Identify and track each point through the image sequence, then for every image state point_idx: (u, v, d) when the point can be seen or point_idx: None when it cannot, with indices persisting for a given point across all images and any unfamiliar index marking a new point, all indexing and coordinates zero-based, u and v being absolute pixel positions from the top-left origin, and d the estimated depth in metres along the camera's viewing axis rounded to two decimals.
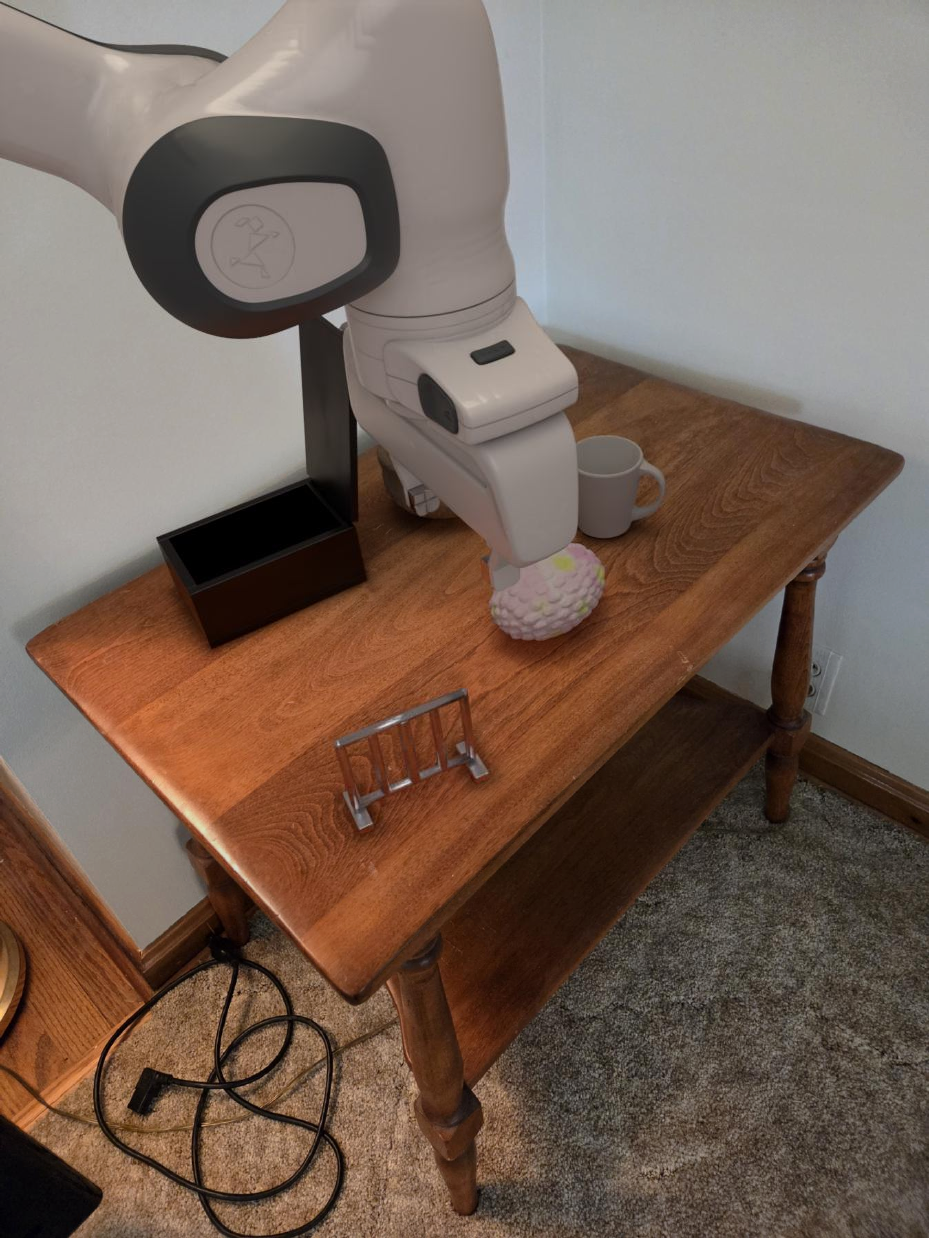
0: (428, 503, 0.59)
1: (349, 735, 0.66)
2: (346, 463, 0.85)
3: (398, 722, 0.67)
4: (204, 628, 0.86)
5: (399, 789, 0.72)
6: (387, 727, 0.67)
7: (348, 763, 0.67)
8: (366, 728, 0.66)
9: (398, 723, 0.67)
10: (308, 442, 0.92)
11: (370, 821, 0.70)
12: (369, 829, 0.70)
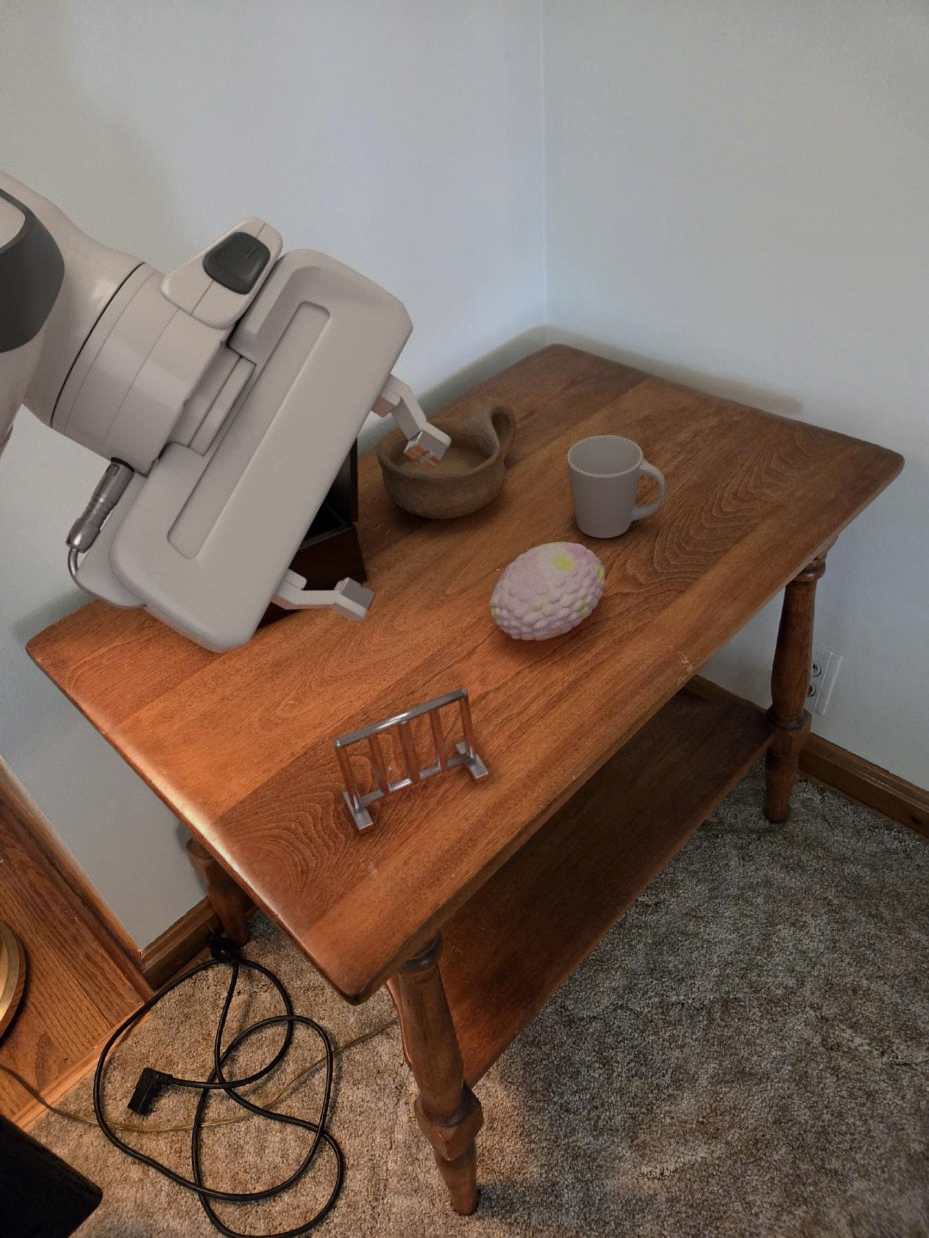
0: None
1: (349, 735, 0.66)
2: (346, 463, 0.85)
3: (398, 722, 0.67)
4: None
5: (399, 789, 0.72)
6: (387, 727, 0.67)
7: (348, 763, 0.67)
8: (366, 728, 0.66)
9: (398, 723, 0.67)
10: None
11: (370, 821, 0.70)
12: (369, 829, 0.70)
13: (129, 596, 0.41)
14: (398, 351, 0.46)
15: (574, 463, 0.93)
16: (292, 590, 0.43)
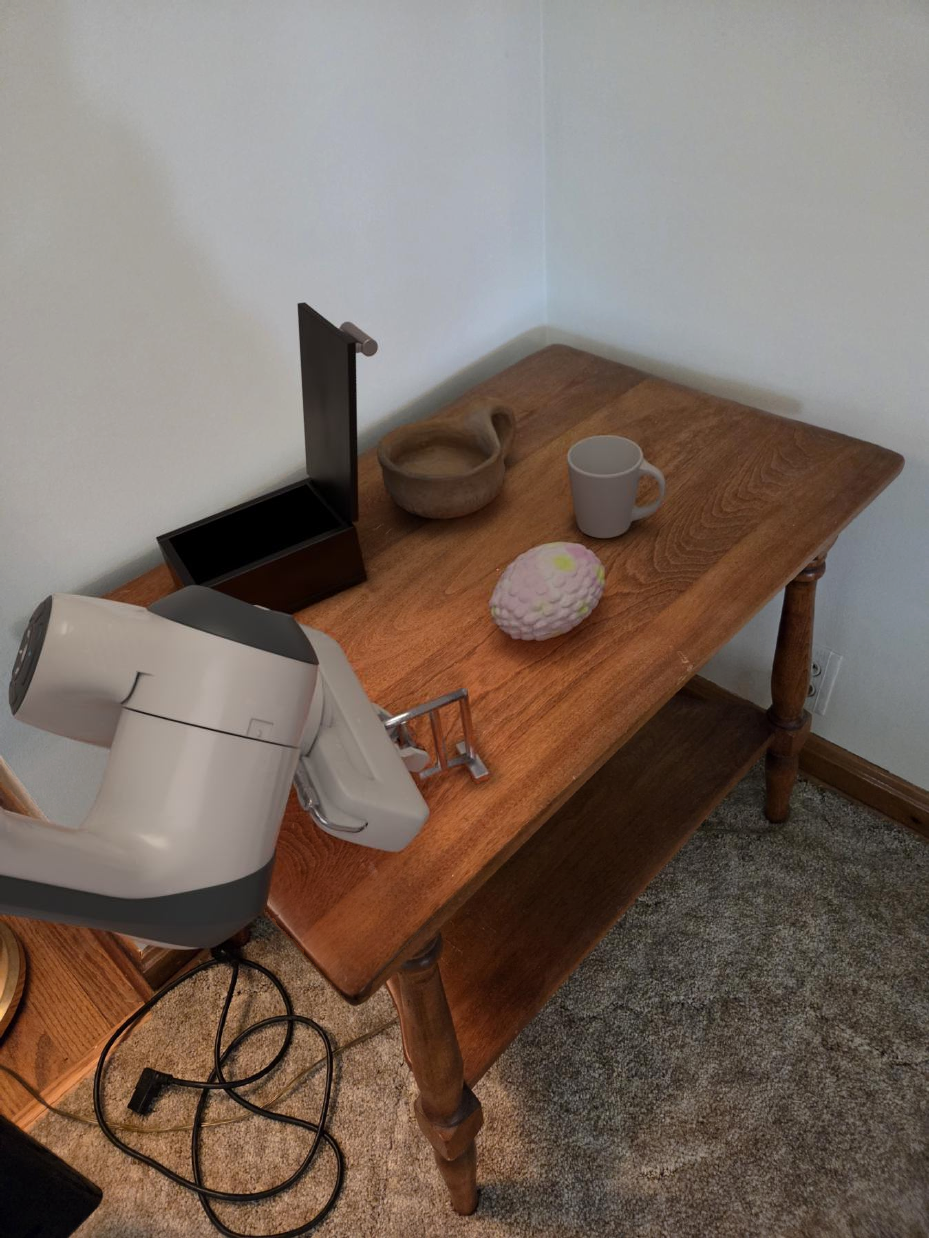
0: None
1: None
2: (346, 463, 0.85)
3: (398, 722, 0.67)
4: None
5: None
6: (387, 727, 0.67)
7: None
8: None
9: (398, 723, 0.67)
10: (308, 442, 0.92)
11: None
12: None
13: (358, 820, 0.56)
14: None
15: (574, 463, 0.93)
16: (397, 750, 0.65)
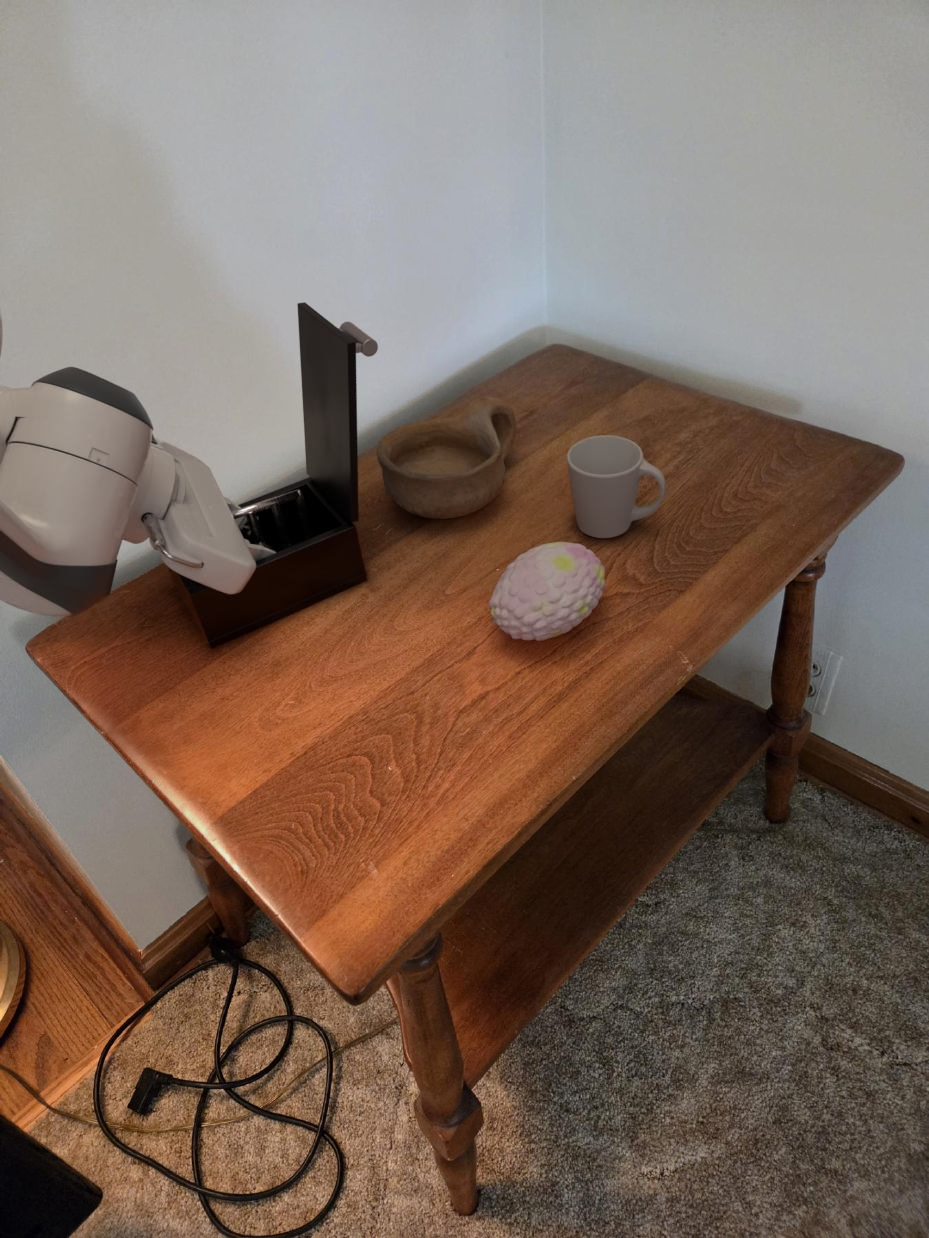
0: None
1: None
2: (346, 463, 0.85)
3: (245, 512, 0.87)
4: (204, 628, 0.86)
5: None
6: (236, 515, 0.87)
7: None
8: None
9: (246, 513, 0.87)
10: (308, 442, 0.92)
11: None
12: None
13: (195, 559, 0.77)
14: None
15: (574, 463, 0.93)
16: (247, 543, 0.85)
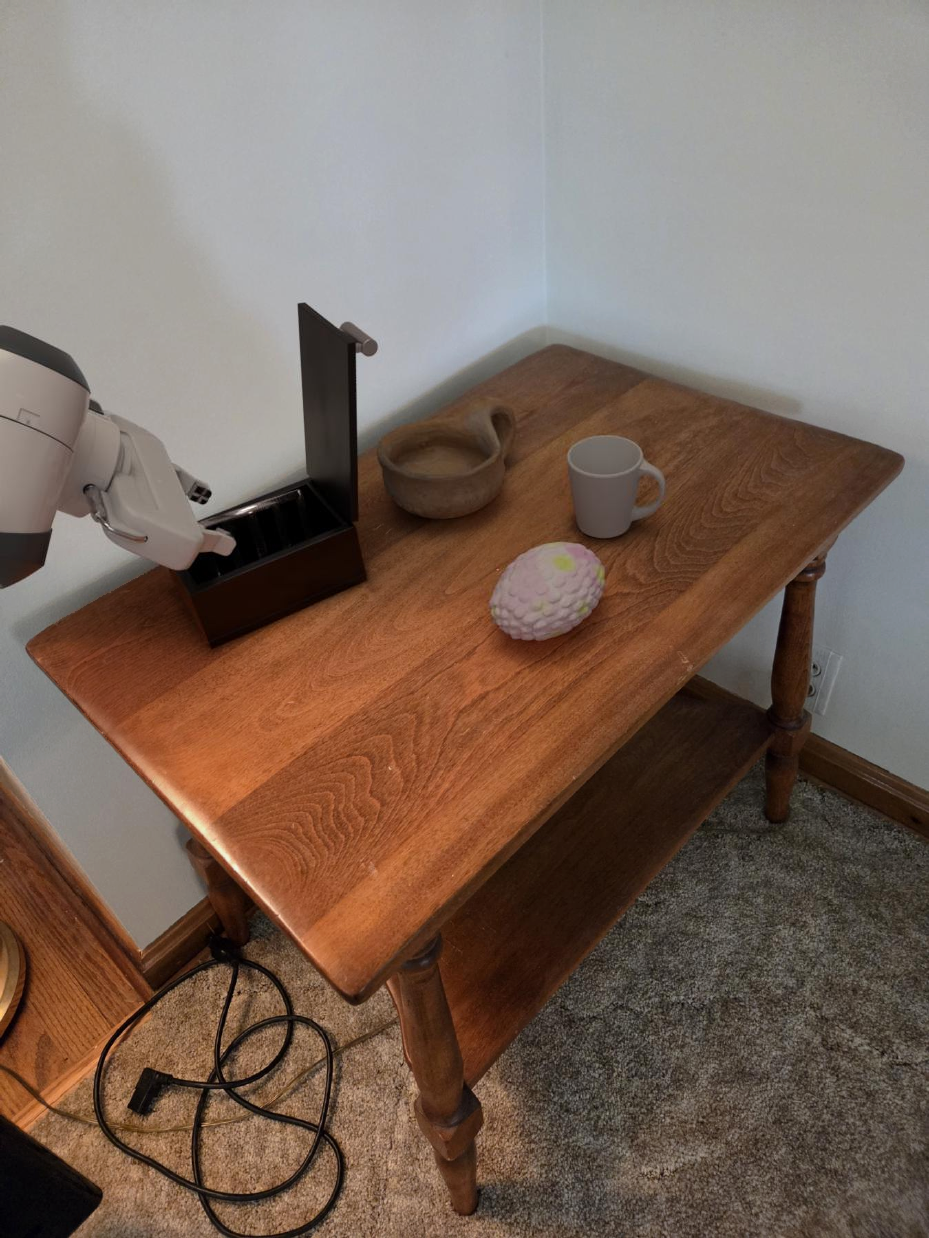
0: None
1: (206, 520, 0.86)
2: (346, 463, 0.85)
3: (245, 512, 0.87)
4: (204, 628, 0.86)
5: None
6: (236, 515, 0.87)
7: None
8: (220, 515, 0.87)
9: (246, 513, 0.87)
10: (308, 442, 0.92)
11: None
12: None
13: (139, 532, 0.73)
14: (165, 449, 0.88)
15: (574, 463, 0.93)
16: (202, 529, 0.80)
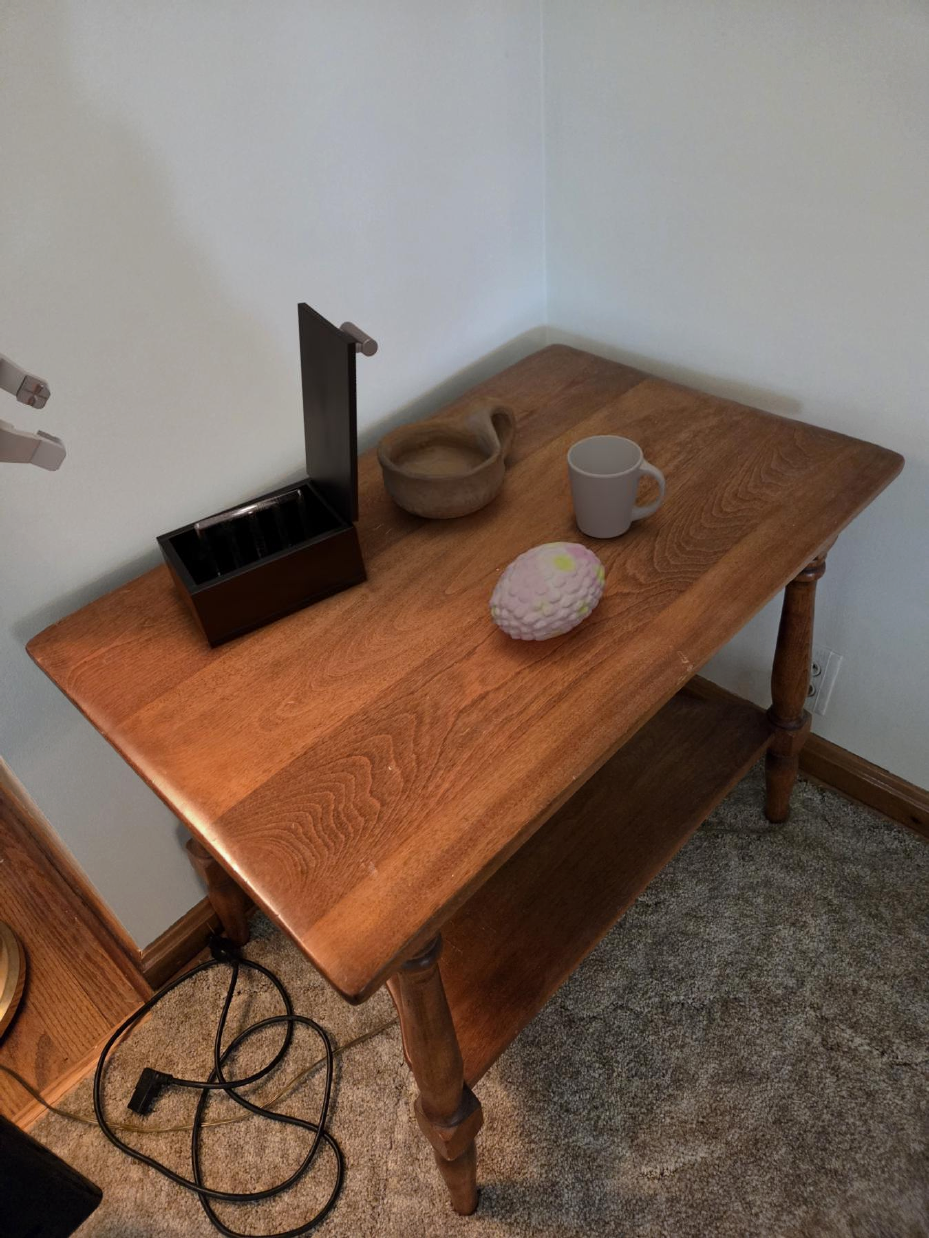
0: None
1: (206, 520, 0.86)
2: (346, 463, 0.85)
3: (245, 512, 0.87)
4: (204, 628, 0.86)
5: None
6: (236, 515, 0.87)
7: (208, 544, 0.87)
8: (220, 515, 0.87)
9: (246, 513, 0.87)
10: (308, 442, 0.92)
11: None
12: None
13: None
14: None
15: (574, 463, 0.93)
16: (7, 427, 0.55)
